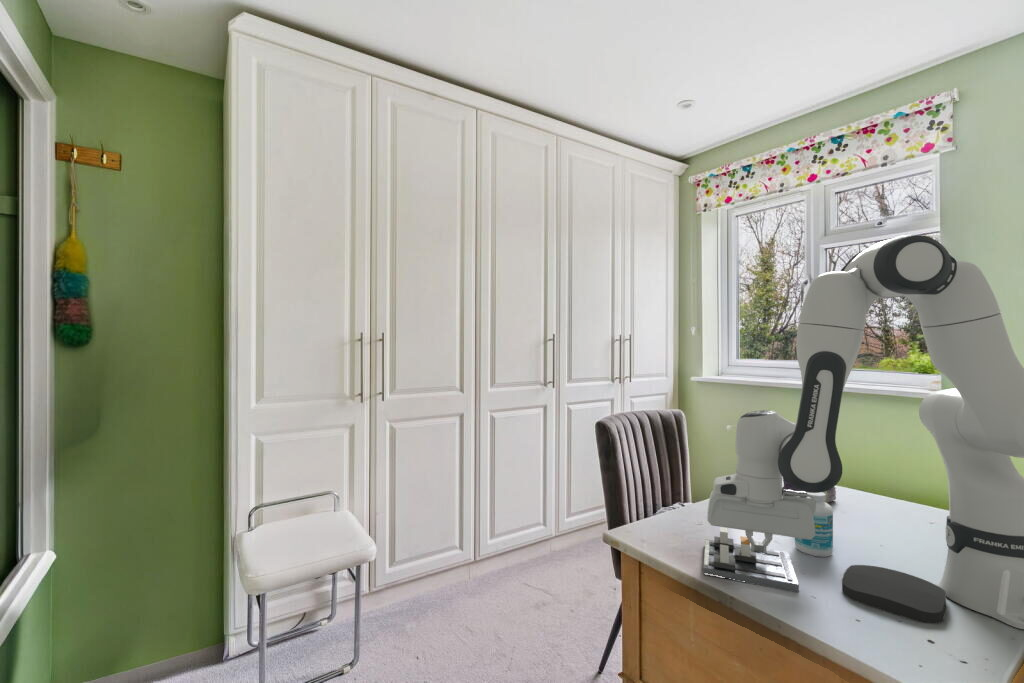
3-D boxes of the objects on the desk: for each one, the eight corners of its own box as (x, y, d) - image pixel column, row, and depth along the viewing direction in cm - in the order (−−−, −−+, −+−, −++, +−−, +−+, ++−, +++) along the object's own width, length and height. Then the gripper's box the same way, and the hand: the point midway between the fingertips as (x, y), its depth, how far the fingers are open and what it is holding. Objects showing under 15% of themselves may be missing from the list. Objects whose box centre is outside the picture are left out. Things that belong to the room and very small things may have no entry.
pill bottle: (815, 560, 103) (814, 498, 103) (787, 546, 110) (786, 489, 111) (841, 556, 105) (840, 495, 105) (812, 542, 112) (811, 486, 113)
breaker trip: (755, 556, 101) (755, 538, 101) (756, 563, 98) (756, 544, 98) (734, 552, 103) (734, 535, 103) (735, 559, 100) (735, 541, 100)
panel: (787, 558, 104) (787, 551, 104) (798, 592, 90) (798, 583, 90) (705, 545, 111) (705, 538, 111) (703, 574, 97) (703, 566, 97)
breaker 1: (733, 543, 108) (733, 528, 108) (733, 549, 104) (733, 533, 104) (714, 540, 109) (714, 525, 109) (714, 546, 106) (714, 531, 106)
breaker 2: (734, 562, 98) (734, 546, 98) (735, 570, 95) (735, 553, 95) (714, 559, 100) (713, 542, 100) (713, 566, 96) (713, 549, 96)
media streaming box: (837, 598, 88) (837, 582, 88) (853, 571, 99) (853, 557, 99) (942, 631, 78) (942, 613, 78) (947, 598, 88) (947, 582, 88)
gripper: (813, 488, 98) (813, 554, 98) (707, 477, 106) (707, 538, 106) (818, 497, 92) (819, 567, 92) (707, 484, 101) (707, 549, 101)
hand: (758, 551), depth 99 cm, fingers closed
